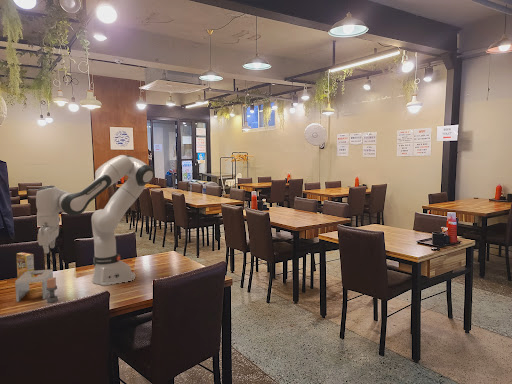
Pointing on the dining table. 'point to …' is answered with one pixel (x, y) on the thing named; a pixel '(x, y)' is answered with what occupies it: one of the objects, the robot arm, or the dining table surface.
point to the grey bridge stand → (25, 279)
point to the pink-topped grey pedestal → (51, 290)
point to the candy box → (24, 263)
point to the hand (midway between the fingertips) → (49, 250)
